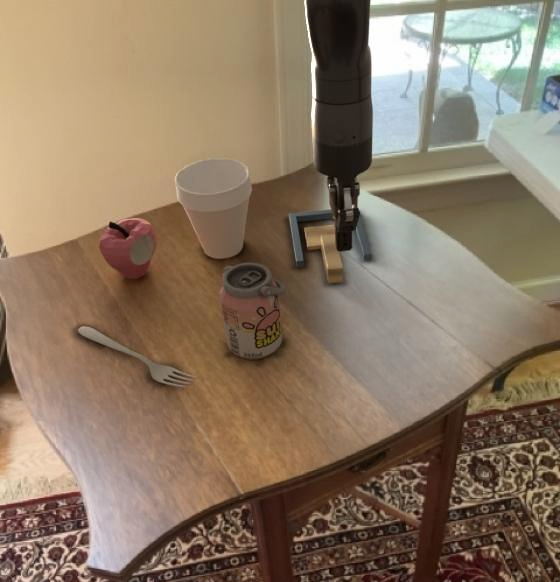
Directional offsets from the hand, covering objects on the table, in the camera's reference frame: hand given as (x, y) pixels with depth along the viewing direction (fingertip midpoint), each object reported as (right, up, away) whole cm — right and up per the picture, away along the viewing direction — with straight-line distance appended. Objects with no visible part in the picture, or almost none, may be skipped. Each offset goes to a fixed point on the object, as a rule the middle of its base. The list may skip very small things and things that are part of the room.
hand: (343, 248), depth 94 cm
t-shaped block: (-1, +2, +17) cm, 17 cm away
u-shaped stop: (-1, +6, +21) cm, 22 cm away
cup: (-19, +4, +21) cm, 29 cm away
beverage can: (-12, -13, +3) cm, 18 cm away
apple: (-33, -1, +18) cm, 38 cm away
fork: (-30, -16, +2) cm, 34 cm away
